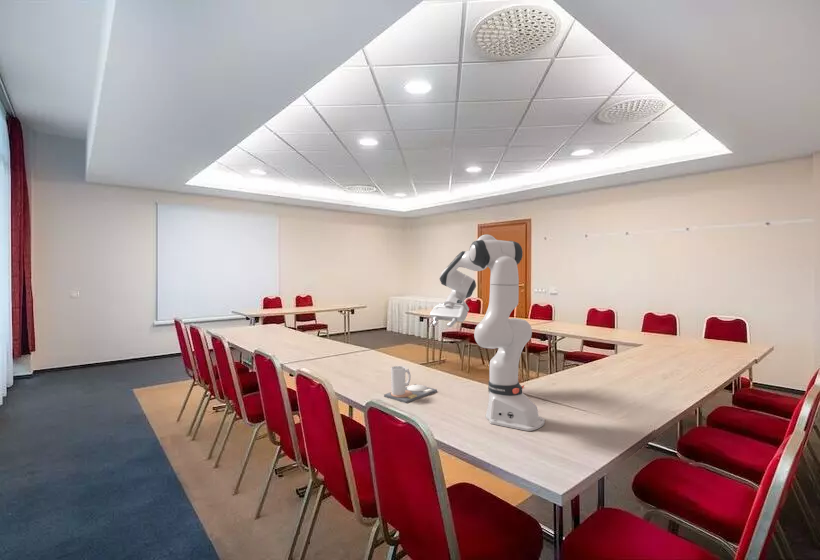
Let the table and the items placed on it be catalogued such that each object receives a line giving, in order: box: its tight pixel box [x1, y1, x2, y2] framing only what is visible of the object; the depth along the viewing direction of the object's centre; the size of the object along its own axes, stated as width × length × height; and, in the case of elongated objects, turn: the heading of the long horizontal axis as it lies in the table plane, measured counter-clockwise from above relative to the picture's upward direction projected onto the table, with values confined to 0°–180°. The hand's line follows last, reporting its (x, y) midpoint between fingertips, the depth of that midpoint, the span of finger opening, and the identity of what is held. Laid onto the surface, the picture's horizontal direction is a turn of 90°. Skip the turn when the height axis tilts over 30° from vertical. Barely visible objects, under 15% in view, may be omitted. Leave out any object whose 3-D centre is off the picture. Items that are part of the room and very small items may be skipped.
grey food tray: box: [383, 383, 438, 404], centre depth 187 cm, size 14×22×2 cm, turn 138°
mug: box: [390, 365, 412, 395], centre depth 184 cm, size 10×7×12 cm, turn 121°
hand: (441, 325), depth 194 cm, fingers open, 8 cm apart
